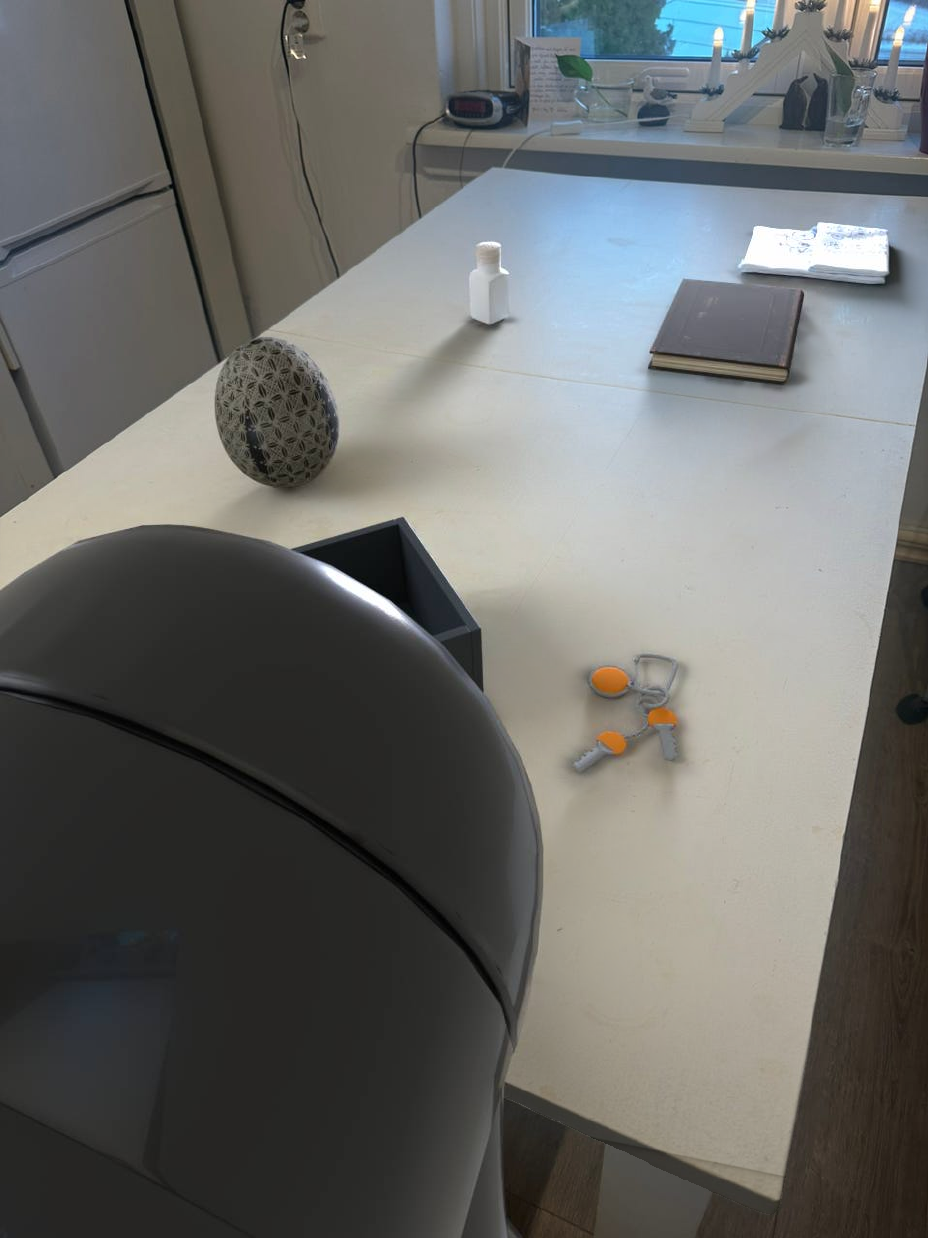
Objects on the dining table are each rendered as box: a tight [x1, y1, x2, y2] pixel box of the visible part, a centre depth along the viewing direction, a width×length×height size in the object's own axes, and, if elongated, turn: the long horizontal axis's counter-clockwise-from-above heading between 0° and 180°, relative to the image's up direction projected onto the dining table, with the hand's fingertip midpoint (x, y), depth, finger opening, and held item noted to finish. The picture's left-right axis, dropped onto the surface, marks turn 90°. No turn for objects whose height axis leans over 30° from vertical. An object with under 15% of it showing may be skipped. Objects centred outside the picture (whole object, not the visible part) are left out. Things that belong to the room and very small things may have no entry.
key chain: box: [572, 652, 679, 774], centre depth 64 cm, size 13×7×1 cm, turn 164°
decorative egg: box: [214, 336, 340, 489], centre depth 85 cm, size 12×12×15 cm
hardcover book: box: [647, 278, 805, 386], centre depth 110 cm, size 16×23×2 cm
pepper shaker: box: [468, 241, 510, 325], centre depth 114 cm, size 4×4×10 cm
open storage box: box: [290, 516, 485, 694], centre depth 65 cm, size 15×15×9 cm
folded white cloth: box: [736, 221, 890, 285], centre depth 128 cm, size 19×20×2 cm
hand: (238, 747), depth 55 cm, fingers closed on energy drink, 5 cm apart
